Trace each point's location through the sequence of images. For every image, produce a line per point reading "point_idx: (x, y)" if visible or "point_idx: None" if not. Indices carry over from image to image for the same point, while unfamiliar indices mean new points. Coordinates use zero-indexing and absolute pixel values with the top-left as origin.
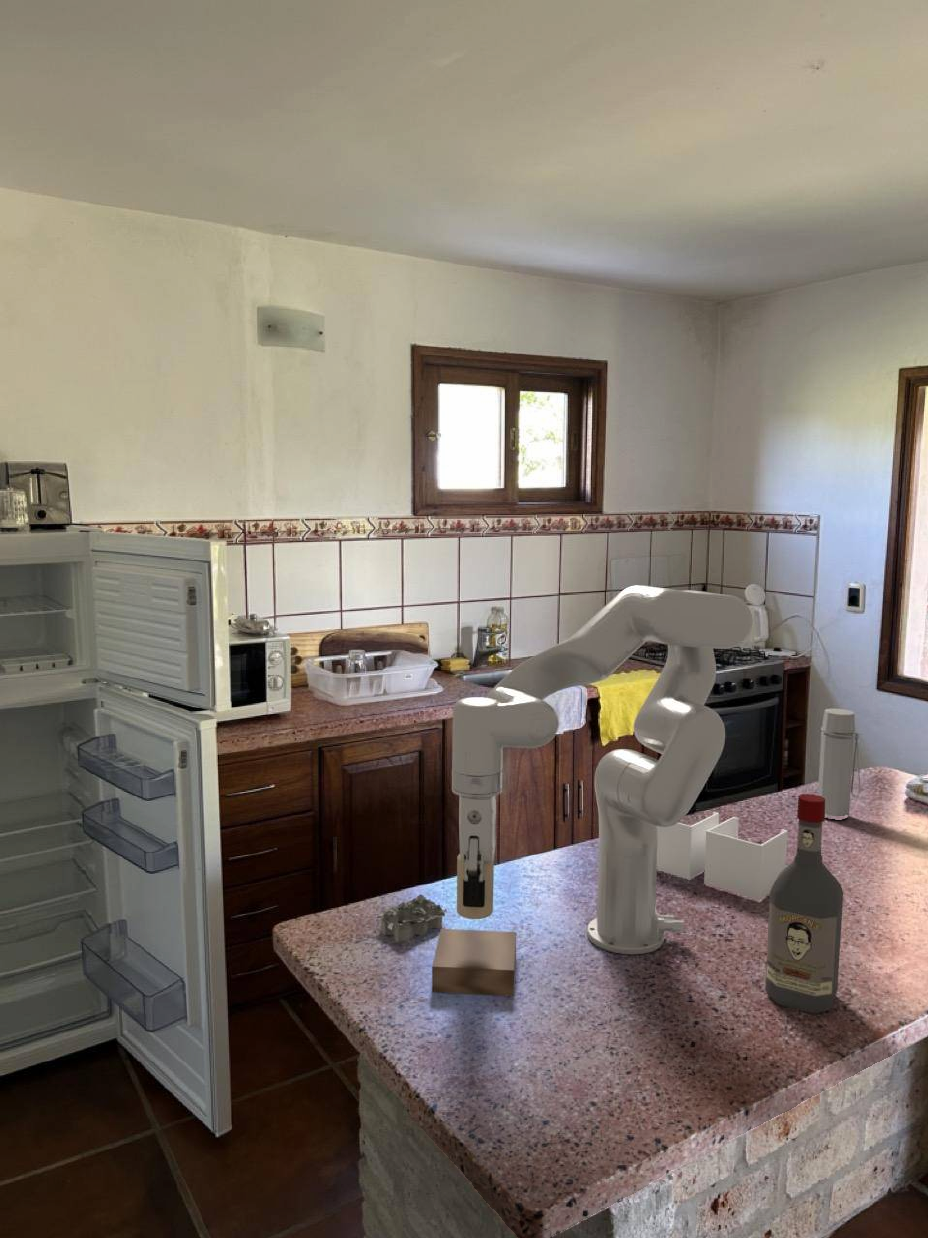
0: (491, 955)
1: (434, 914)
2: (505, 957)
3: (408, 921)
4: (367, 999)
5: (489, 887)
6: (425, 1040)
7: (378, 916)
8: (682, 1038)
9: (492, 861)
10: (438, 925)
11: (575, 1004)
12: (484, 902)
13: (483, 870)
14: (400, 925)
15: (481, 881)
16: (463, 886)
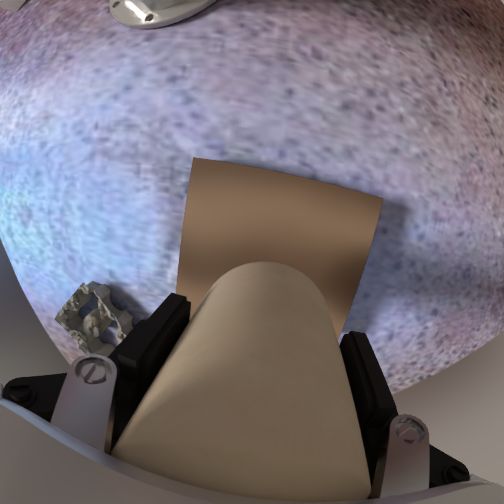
0: (308, 237)
1: (84, 296)
2: (323, 205)
3: None
4: None
5: (330, 345)
6: (431, 339)
7: None
8: (458, 14)
9: (484, 483)
10: (107, 292)
11: (396, 93)
12: (368, 340)
13: (394, 462)
14: None
15: (419, 428)
16: None
